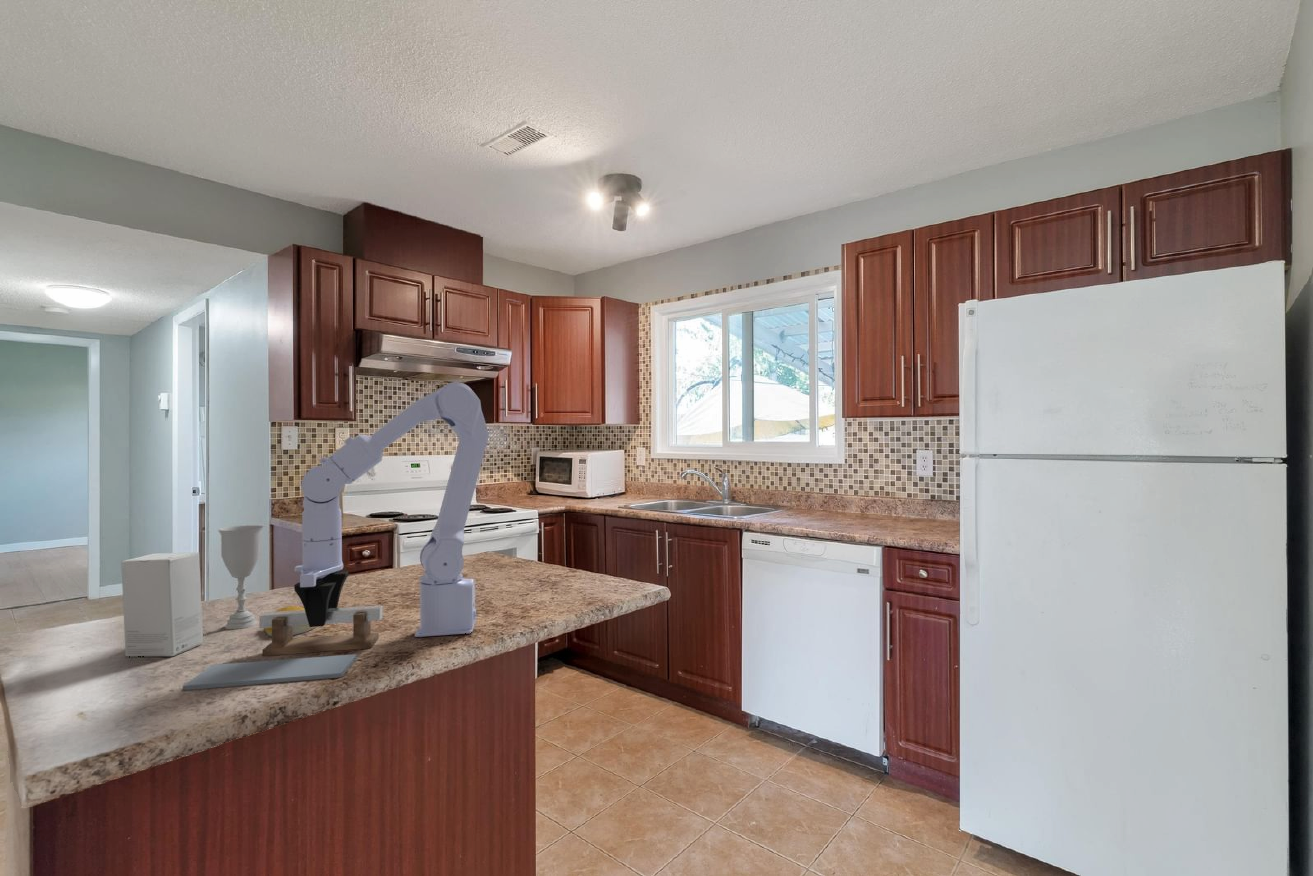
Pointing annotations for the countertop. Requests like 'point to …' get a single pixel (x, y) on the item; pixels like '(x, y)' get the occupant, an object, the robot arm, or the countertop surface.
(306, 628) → the bread roll
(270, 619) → the steel rail
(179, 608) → the skincare box
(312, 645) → the cradle rack
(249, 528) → the chalice
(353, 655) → the slate mat
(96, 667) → the countertop surface
